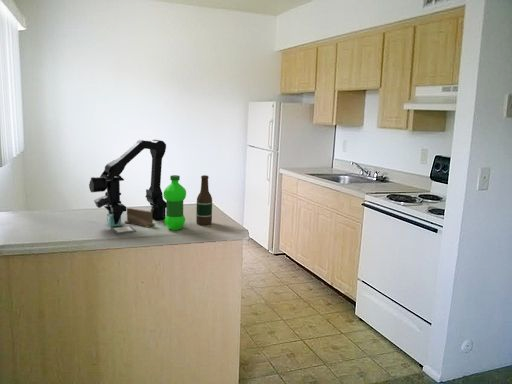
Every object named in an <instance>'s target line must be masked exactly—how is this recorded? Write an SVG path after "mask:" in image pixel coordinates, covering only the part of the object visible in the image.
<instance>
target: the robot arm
mask: <svg viewBox="0 0 512 384" xmlns="http://www.w3.org/2000/svg"><path fill="white" fill-rule="evenodd" d="M145 149H146V150H149V153H150V156H151V171H150V172H151V173H150V174H151V175H150V186H149V188H148V189H147V188H146V190H145V198H146V201H147V202H148V203H149V205H150V206H151V209H150V211H151V212H152V221H160V220H161V221H163V220H165V217H166V200H165V199H164V193H163V192H162V188H161V182H162V181H161V179H162V163H163V158H164V156H165V154H166V150H167V144H166V142H164V141H163V140H159V139H152V140H144V139H138V140H137V141H136V142H135V143H134V144H133V145H132V146H131V147H129V149H127V150H126V151H125V152H124V153H123V154H122V155H121V156H120V157H118V158H116V159H114V160H112V161H110V162H109V163H106V165H105V166H104V170H103V172H102V173H101V175H100V177H98V176H97V177H93V176H92V177H90V181H89V183H88V187H89V191H90V193H101V192H105V191H106V192H105V193H104V195H103V196H100V197H98V198H96V199H94V200H93V202H94V204H95V206H96V207H97V209H100V208H102V207H104V208H105V209H106V210H107V211H108V214H112V213H113V218H114V223H115V224H117V223H118V221H119V219H120V217H121V218H122V215H123V214H124V212H127V206H126V205H125V204H123V203H122V201H121V199H120V198H121V195H122V193H121V189H120V187H121V186H120V185H121V183H120V182H122V181H125V178H123V177H122V176H121V174H122V173H123V171H124V170H125V167H126V166H127V165H128V164H129V163H130V162H131V161H132V160H133V159H134V158H136V157H137V156H138V155H139V154H140V153H141V152H142V151H143V150H145Z"/></svg>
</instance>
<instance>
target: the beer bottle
mask: <svg viewBox="0 0 512 384" xmlns="http://www.w3.org/2000/svg"><path fill="white" fill-rule="evenodd" d="M200 178H201V181H200V183H201V184H200V190H199V191H200V192H199V194H198V195H197V197H196V214H195V215H196V225H198V226H202V227H203V226H210V225H212V220H213V197H212V195H211V192H210V191H209V178H210V177H209V175H207V174H206V175H201V176H200Z"/></svg>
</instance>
